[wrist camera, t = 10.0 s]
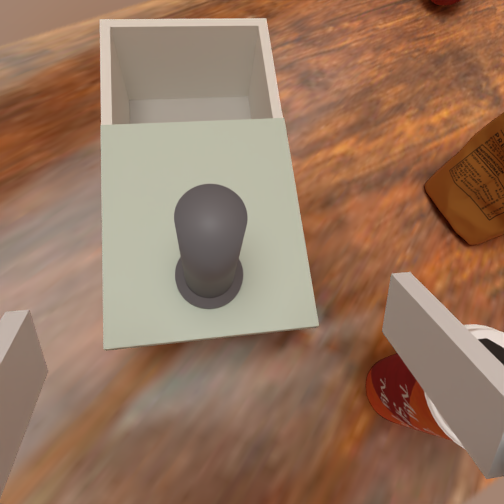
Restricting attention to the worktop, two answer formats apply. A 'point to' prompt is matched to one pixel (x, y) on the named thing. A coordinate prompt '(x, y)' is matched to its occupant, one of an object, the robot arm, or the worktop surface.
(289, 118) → the worktop surface
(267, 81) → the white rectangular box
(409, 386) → the paper cup
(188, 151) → the lid
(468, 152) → the coffee package
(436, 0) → the onion
